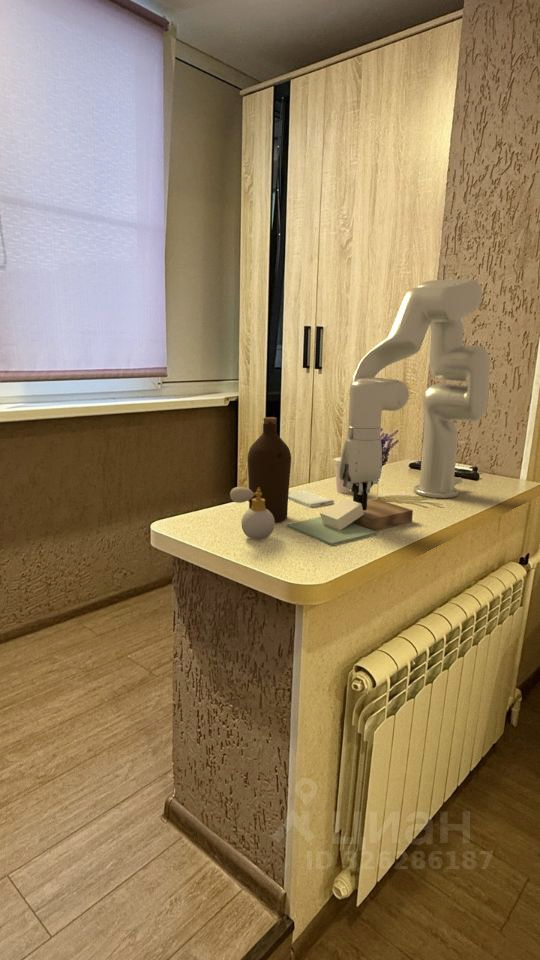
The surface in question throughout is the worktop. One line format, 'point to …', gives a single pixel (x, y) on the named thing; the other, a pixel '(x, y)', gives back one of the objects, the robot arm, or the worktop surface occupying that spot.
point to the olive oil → (270, 470)
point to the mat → (330, 531)
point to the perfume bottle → (254, 514)
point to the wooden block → (383, 515)
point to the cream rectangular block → (342, 513)
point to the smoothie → (338, 480)
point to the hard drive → (309, 499)
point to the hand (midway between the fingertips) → (359, 509)
